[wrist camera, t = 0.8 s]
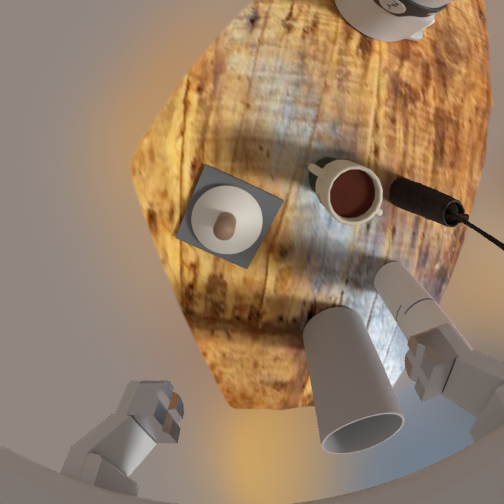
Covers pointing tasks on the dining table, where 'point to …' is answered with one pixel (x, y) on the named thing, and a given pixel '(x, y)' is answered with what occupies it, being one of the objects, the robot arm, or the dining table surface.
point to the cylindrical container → (409, 301)
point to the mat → (217, 178)
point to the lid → (227, 219)
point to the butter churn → (432, 205)
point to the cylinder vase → (348, 383)
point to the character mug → (346, 190)
